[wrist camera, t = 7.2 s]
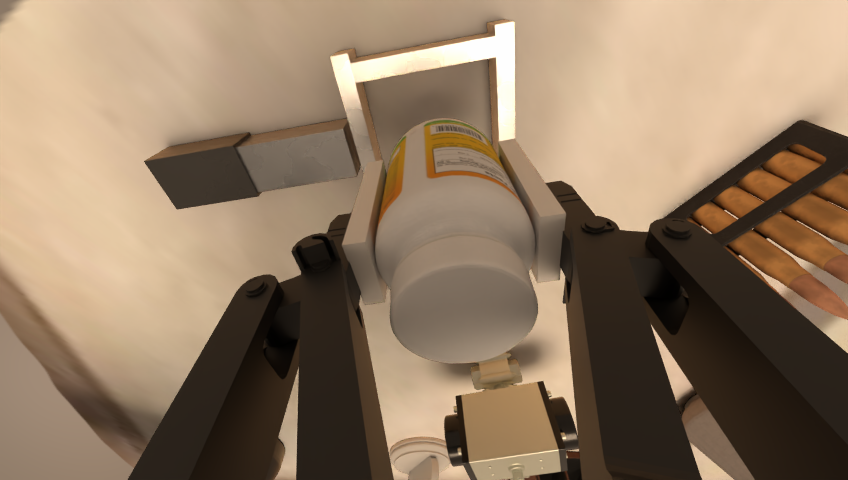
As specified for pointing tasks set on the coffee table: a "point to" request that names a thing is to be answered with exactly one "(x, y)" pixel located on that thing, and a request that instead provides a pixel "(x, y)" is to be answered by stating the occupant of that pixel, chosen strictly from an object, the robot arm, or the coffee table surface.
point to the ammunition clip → (784, 210)
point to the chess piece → (420, 457)
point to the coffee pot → (712, 439)
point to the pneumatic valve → (508, 426)
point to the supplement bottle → (454, 246)
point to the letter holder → (572, 476)
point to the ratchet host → (330, 127)
